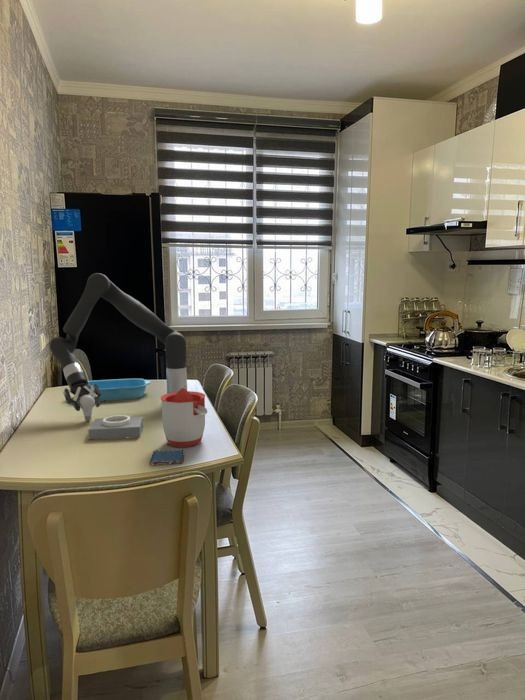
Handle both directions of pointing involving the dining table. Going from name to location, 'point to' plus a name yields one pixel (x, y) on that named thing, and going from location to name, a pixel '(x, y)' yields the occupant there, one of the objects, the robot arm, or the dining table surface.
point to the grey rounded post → (87, 406)
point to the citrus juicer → (183, 417)
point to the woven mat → (167, 456)
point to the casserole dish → (120, 388)
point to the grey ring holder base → (116, 427)
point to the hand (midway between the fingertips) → (88, 408)
